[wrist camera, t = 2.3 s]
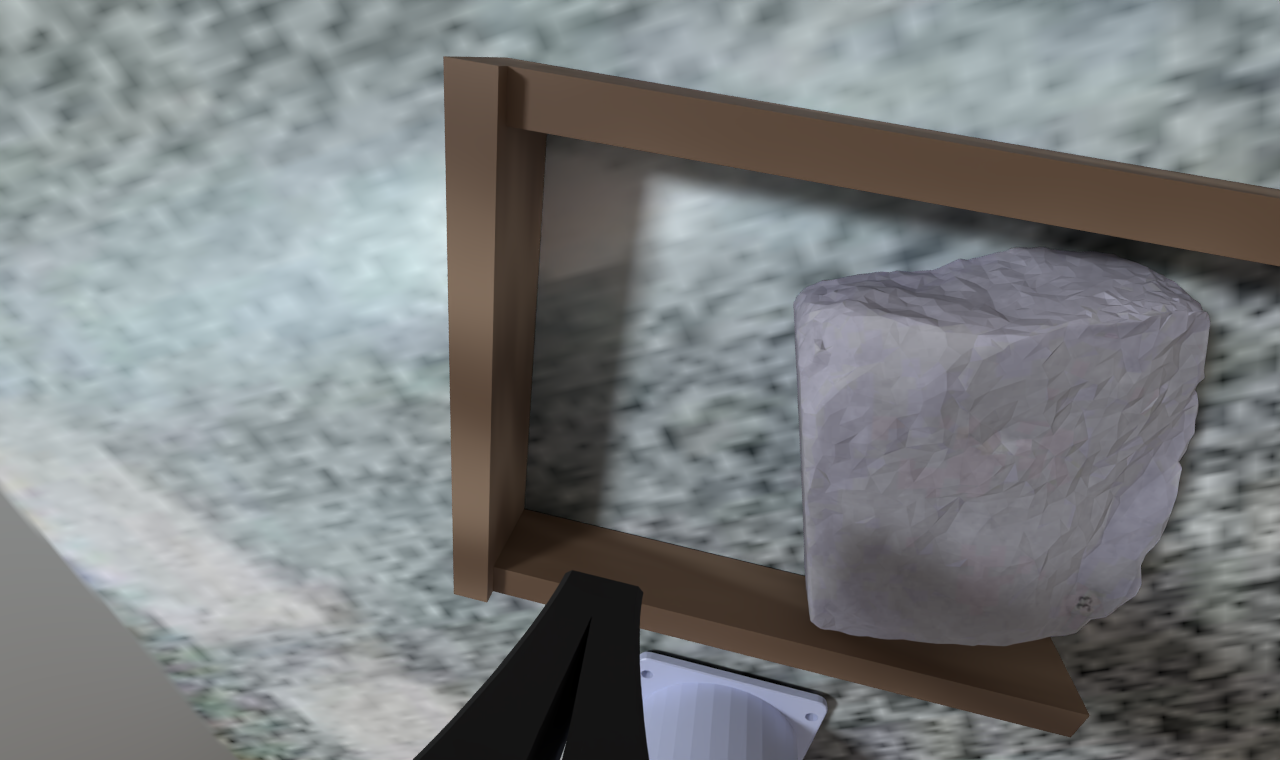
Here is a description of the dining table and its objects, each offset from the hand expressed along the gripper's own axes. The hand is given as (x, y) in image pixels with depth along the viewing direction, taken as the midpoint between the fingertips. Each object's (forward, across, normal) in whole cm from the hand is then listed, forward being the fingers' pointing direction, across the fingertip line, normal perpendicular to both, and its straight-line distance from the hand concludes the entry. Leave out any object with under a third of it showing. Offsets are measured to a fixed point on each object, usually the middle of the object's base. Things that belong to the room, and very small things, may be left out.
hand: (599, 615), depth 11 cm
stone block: (+10, -9, 0) cm, 14 cm away
